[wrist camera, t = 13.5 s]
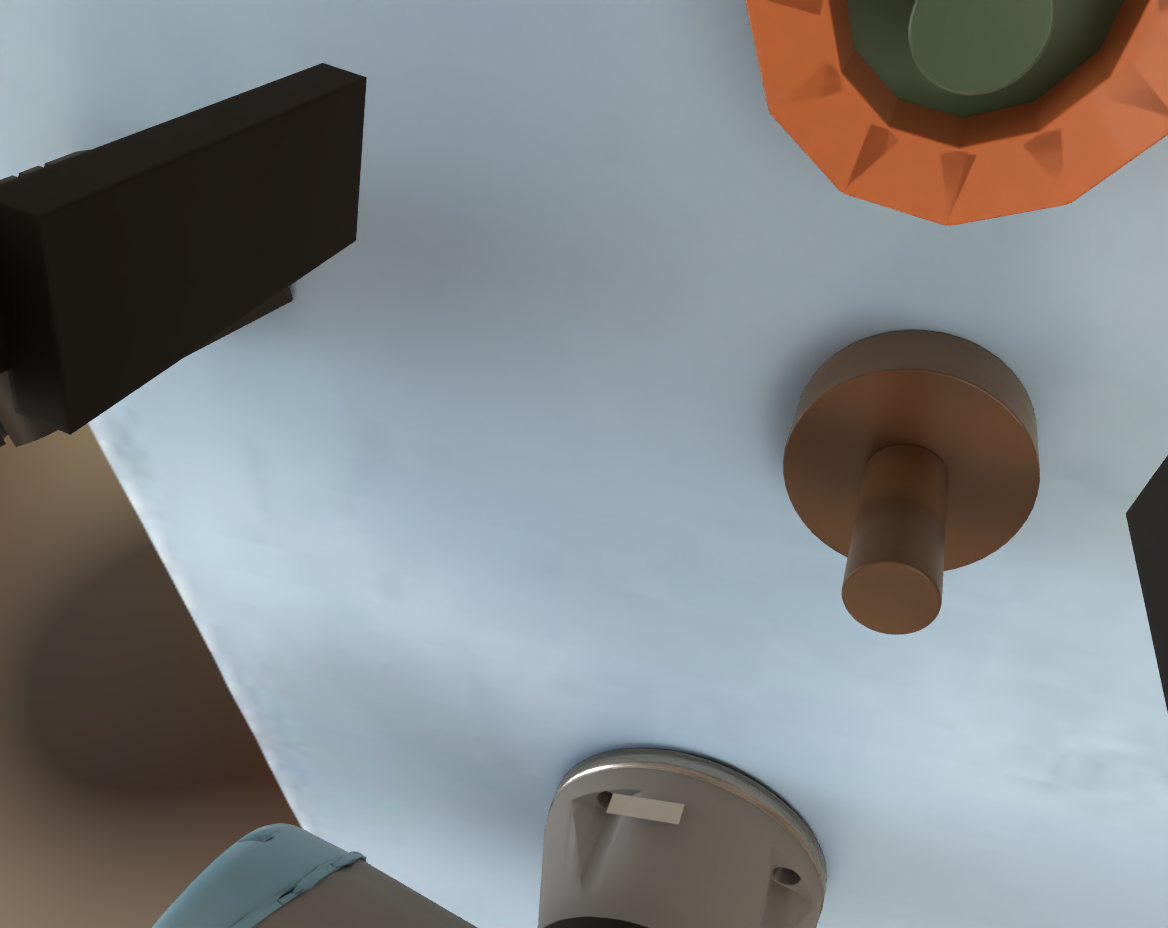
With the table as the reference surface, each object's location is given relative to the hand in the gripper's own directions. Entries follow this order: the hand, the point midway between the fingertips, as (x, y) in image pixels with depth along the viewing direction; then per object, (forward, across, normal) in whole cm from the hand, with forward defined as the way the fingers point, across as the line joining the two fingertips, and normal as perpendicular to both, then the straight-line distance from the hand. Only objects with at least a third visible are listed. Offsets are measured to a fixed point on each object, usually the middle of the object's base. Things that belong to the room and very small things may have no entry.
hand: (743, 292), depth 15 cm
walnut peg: (+19, -6, +12) cm, 23 cm away
